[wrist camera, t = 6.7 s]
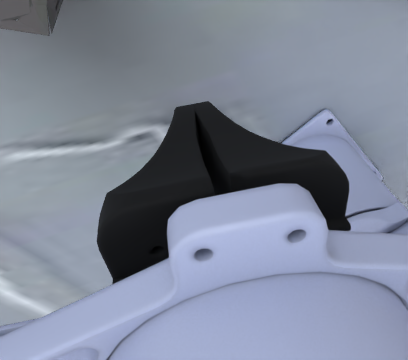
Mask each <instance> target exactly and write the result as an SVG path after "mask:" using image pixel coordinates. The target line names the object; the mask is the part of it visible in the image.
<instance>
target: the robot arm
mask: <svg viewBox="0 0 408 360" xmlns="http://www.w3.org/2000/svg"><path fill="white" fill-rule="evenodd" d="M329 119H331V121H330V122H329V123H327V121H328V120H329ZM382 181H383V176H382V175H381V174H380V172H379V171H378V170H377V169H376V167H375V166H374V165H373V164H372V162H371V161H370V160H369V159H368V157H367V156H366V155H365V154H364V152H363V151H362V150H361V149H360V147H359V146H358V145H357V144H356V142H355V141H354V140H353V139H352V137H351V136H350V135H349V134H348V132H347V131H346V130H345V129H344V127H343V126H342V125H341V124H340V122H339V121H338V120H337V119H336V117H335V116H334V115H333V114H332V112H331V111H329V110H323V111H321V112H320V113H319V114H317V115H316V116H315V117H314V118H312V119H311V120H310V121H309V122H307V123H306V124H305V125H304V126H302V127H301V128H300V129H299V130H297V131H296V132H295V133H294V134H292V135H291V136H290V137H289V138H287V139H286V140H285V141H284V142H282V143H278V142H275V141H272V140H269V139H266V138H263V137H261V136H259V135H256V134H254V133H252V132H250V131H248V130H246V129H244V128H243V127H241V126H239V125H238V124H236V123H235V122H233V121H232V120H230V119H229V118H228V117H226V116H225V115H224V114H223V113H221V112H220V111H219V110H218V109H217V108H216V107H215V106H213V105H212V104H211V103H210V102H209V101H207V102H202V103H196V104H191V105H186V106H180V107H176V109H175V110H174V116H173V119H172V122H171V125H170V127H169V129H168V132H167V134H166V136H165V138H164V140H163V142H162V143H161V145H160V147H159V148H158V150H157V151H156V153H155V154H154V156H153V157H152V158H151V159H150V160H149V161H148V163H147V164H146V165H145V166H144V167H143V168H142V169H141V170H140V171H138V172H137V173H136V174H135V175H134V176H132V177H131V178H130V179H129V180H127V181H126V182H124V183H123V184H121V185H120V186H118V187H116V188H115V189H113V190H112V191H110V192H108V193H107V194H106V197H105V200H104V203H103V206H102V210H101V213H100V218H99V225H98V235H97V244H98V247H99V251H100V253H101V255H102V257H103V259H104V261H105V263H106V265H107V267H108V269H109V272H110V274H111V276H112V278H113V284H112V285H110V286H108V287H106V288H104V289H101V290H99V291H97V292H95V293H93V294H91V295H89V296H86V297H84V298H82V299H80V300H78V301H76V302H74V303H72V304H69V305H67V306H65V307H63V308H61V309H59V310H57V311H54V312H52V313H50V314H48V315H46V316H44V317H42V318H38V319H33V320H28V321H23V322H18V323H14V324H9V325H4V326H0V360H408V210H407V208H406V207H405V206H404V205H403V204H402V203H401V202H399V201H398V200H397V198H396V197H395V196H394V195H393V194H392V193H391V191H390V190H389V189H388V188H387V187H386V186H385V185H384V183H383V182H382Z"/></svg>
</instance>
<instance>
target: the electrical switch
mask: <svg viewBox="0 0 408 360" xmlns="http://www.w3.org/2000/svg"><path fill="white" fill-rule="evenodd" d="M62 1H63V0H0V28H2V29H8V30H15V31H21V32H28V33H34V34H41V35H47V36H49V34H50V33H49V23H48V16H49V22H50V28H51V34H52V31H53V28H54V25H55V22H56V19H57V16H58V13H59V10H60V7H61V4H62ZM47 11H48V14H47ZM18 18H19V19H18ZM16 19H18V21H16Z"/></svg>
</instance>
